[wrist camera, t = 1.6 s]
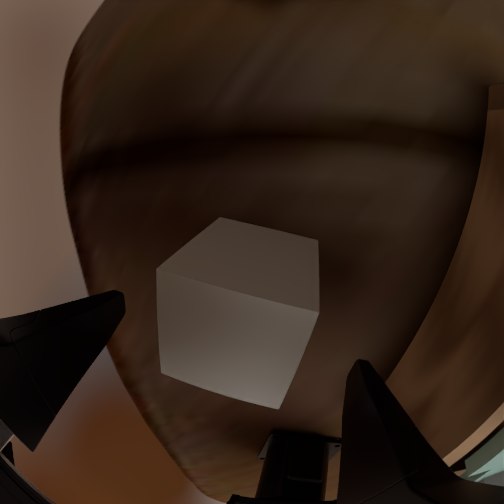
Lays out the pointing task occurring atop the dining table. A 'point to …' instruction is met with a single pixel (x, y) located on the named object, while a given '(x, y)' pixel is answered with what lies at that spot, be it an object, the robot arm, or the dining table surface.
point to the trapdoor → (487, 462)
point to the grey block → (238, 310)
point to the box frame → (464, 324)
